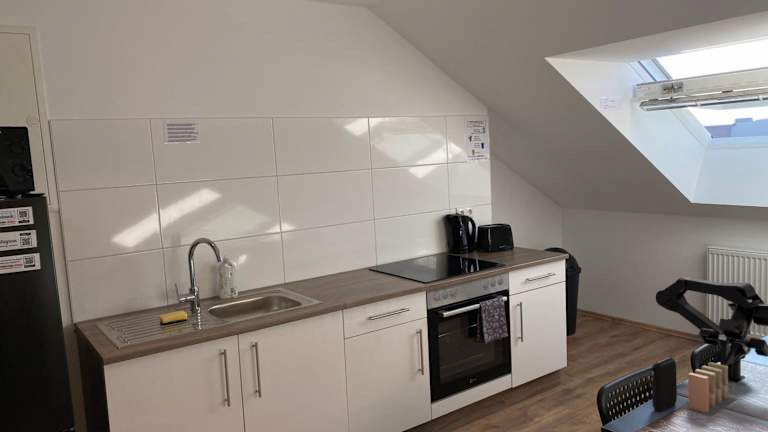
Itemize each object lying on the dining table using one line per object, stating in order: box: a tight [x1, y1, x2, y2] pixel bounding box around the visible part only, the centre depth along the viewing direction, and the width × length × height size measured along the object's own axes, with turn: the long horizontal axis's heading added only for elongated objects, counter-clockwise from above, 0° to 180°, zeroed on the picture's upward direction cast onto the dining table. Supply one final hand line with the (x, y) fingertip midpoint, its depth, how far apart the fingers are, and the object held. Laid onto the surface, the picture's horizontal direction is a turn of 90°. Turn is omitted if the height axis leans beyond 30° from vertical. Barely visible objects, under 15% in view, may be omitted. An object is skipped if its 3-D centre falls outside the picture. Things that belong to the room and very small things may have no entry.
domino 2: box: [694, 368, 716, 408], centre depth 173 cm, size 2×5×10 cm, turn 37°
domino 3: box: [700, 365, 722, 404], centre depth 175 cm, size 2×5×10 cm, turn 37°
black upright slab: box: [650, 357, 678, 412], centre depth 173 cm, size 11×3×15 cm, turn 123°
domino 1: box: [687, 372, 709, 413], centre depth 171 cm, size 2×5×10 cm, turn 37°
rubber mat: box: [679, 395, 738, 417], centre depth 175 cm, size 17×9×1 cm, turn 127°
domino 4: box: [707, 361, 729, 400], centre depth 178 cm, size 2×5×10 cm, turn 37°
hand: (724, 365), depth 180 cm, fingers closed
